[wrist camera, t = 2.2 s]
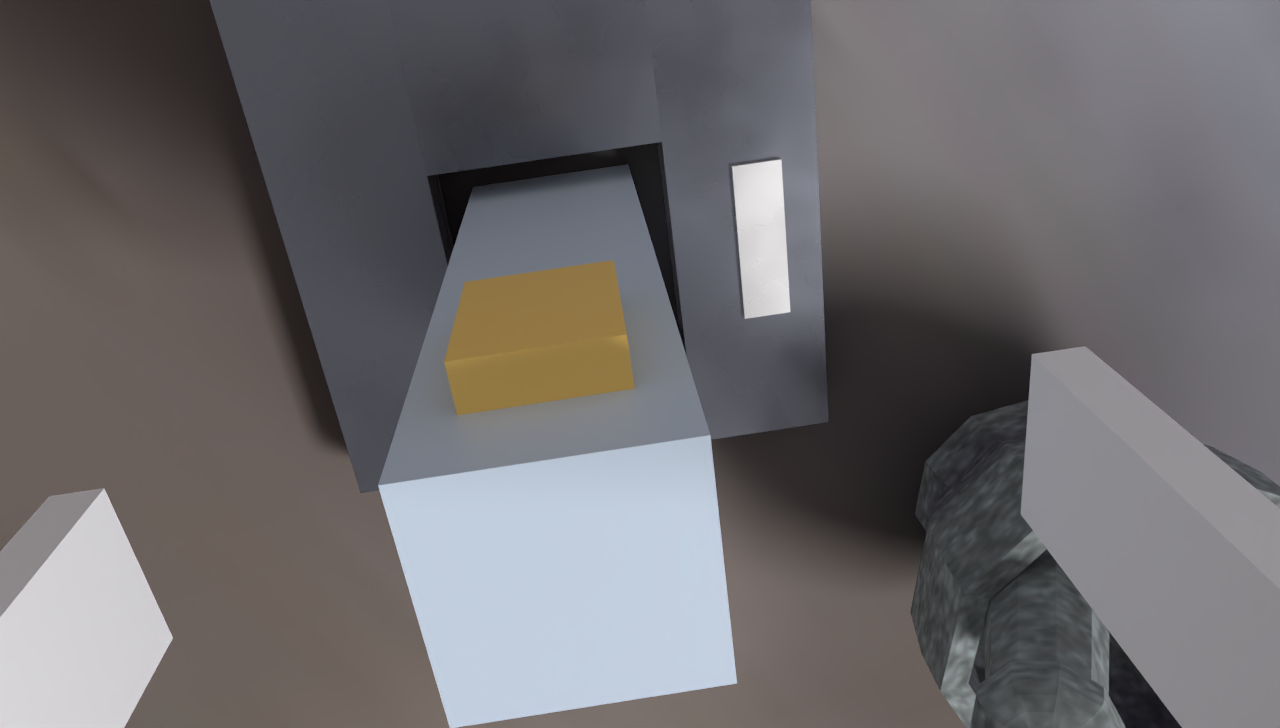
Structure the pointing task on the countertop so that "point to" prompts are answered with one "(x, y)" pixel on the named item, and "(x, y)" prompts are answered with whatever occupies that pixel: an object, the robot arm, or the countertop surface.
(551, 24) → the port panel
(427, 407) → the plug
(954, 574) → the mortar and pestle
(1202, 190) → the countertop surface
